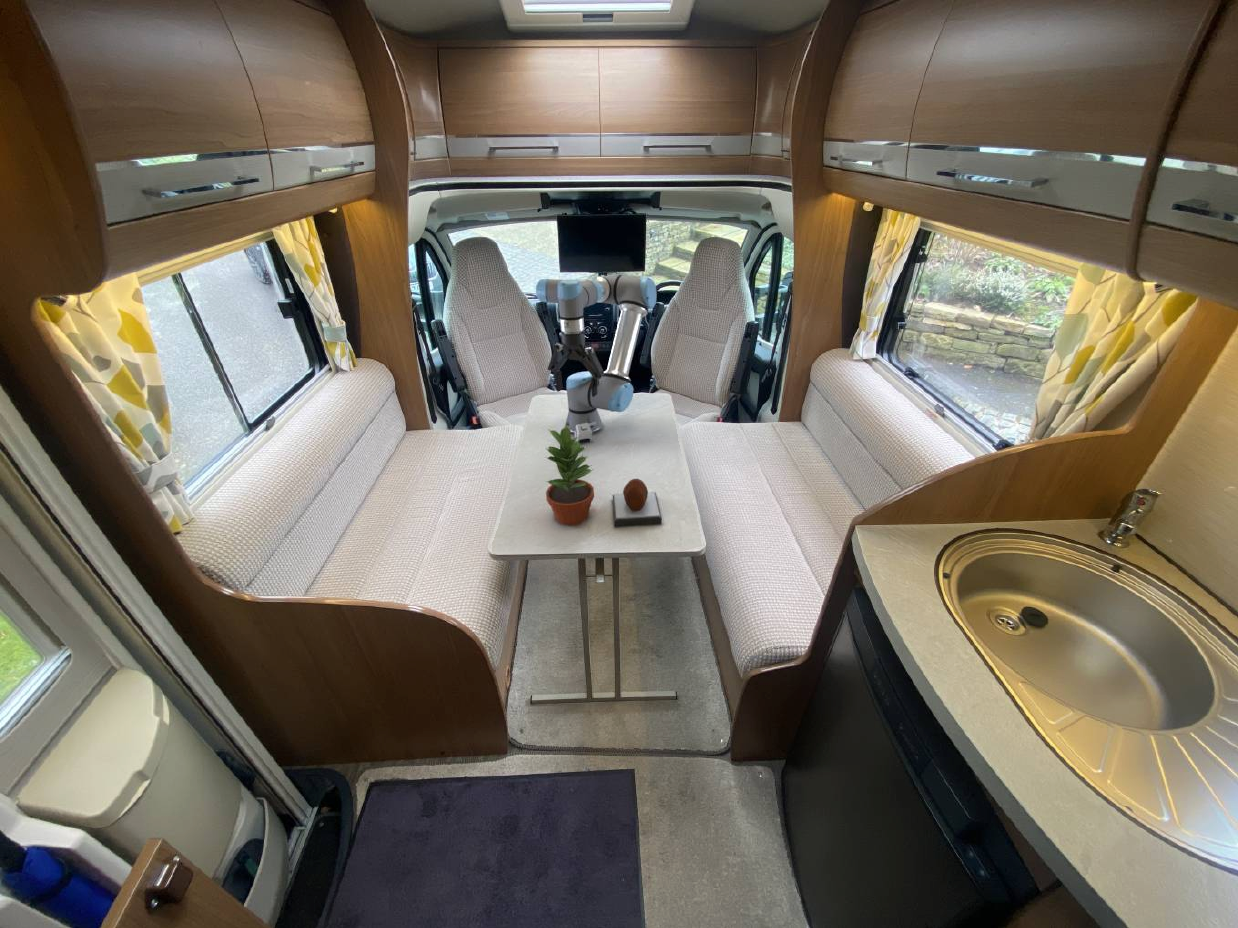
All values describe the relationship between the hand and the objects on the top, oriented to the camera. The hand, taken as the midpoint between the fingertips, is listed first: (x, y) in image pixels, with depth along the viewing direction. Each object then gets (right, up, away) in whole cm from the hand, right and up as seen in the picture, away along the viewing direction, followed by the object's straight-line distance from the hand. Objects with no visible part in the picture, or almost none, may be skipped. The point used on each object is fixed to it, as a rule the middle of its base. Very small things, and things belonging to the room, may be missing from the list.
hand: (577, 392), depth 171 cm
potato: (+20, -37, -17) cm, 45 cm away
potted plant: (0, -40, -16) cm, 44 cm away
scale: (+20, -40, -16) cm, 47 cm away
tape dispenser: (0, -16, +26) cm, 30 cm away
